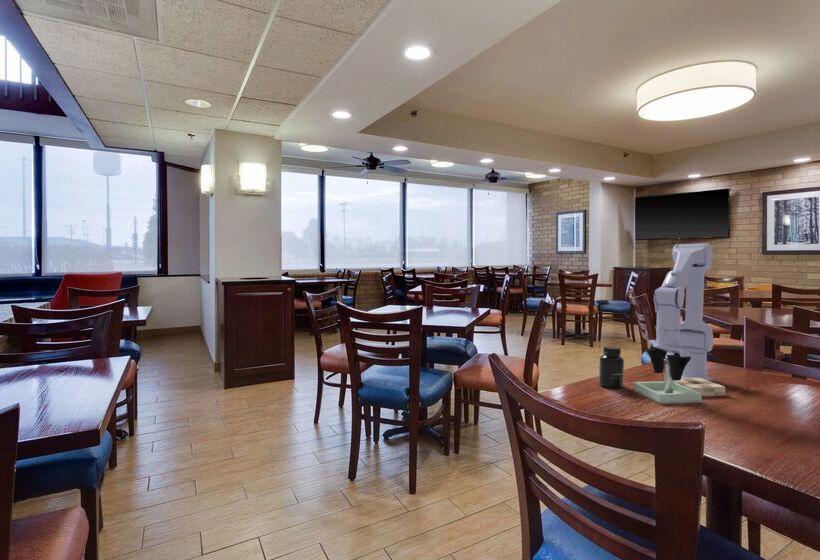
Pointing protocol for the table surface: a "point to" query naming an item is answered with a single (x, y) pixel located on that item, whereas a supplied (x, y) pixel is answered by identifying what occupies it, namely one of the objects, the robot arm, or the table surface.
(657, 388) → the green tray
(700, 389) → the birch block
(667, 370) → the steel pin
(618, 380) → the supplement bottle
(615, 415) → the table surface
